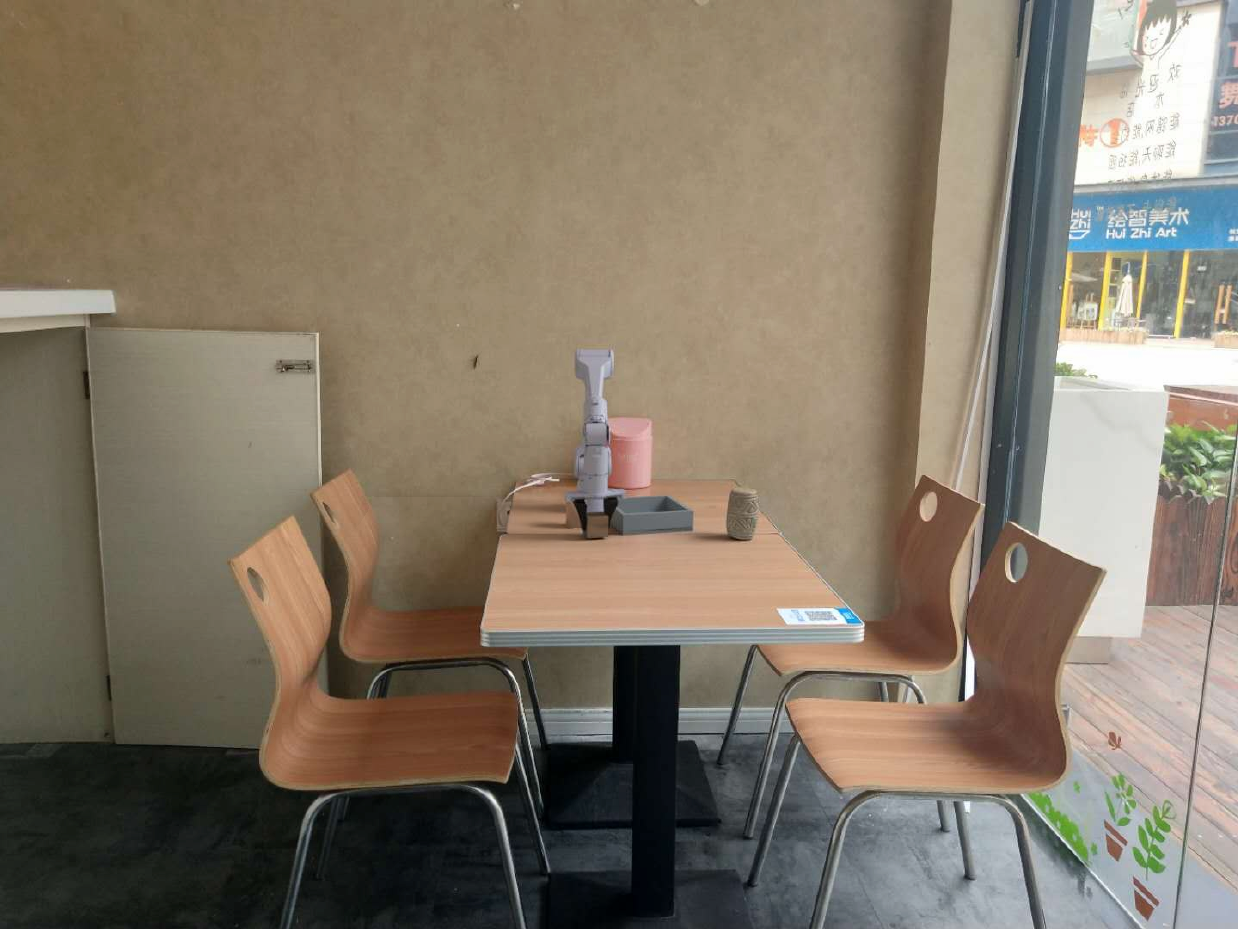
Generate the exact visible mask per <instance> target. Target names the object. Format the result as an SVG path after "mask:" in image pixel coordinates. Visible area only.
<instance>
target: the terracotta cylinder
mask: <svg viewBox="0 0 1238 929" xmlns="http://www.w3.org/2000/svg"><path fill="white" fill-rule="evenodd" d="M585 501H586V500H585ZM565 527H566V529H570V528H581V523H580V519H579V515H578V512H577V510H576V508H575V506H574V504H573V501H571V502H566V501H565Z"/></svg>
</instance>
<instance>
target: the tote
mask: <svg viewBox="0 0 1238 929" xmlns="http://www.w3.org/2000/svg"><path fill="white" fill-rule="evenodd" d="M617 500H618V506H617V507H616V509H615V511H614V513H613V516H612V519H611V522H610V526H612V527H613V528H614V529H615V528H616V530H617V532H619V534H621V535H622V536H632V535H633V534H636V535H647V534H661V533H676V532H677V533H678V532H689V531H691V532H692V531H694V510H692V509H691V508H690V507H688V506H686V505H685V504H683V503H682V502H680V501H678V499H676V498H674V497H672V496H671V495H669V494H662V495H661V494H660V495H659V494H658V495H646V496H645V495H643V496H628V497H627V496H626V498H625V499H621V498H617ZM603 512H604V502H603Z"/></svg>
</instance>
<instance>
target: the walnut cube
mask: <svg viewBox="0 0 1238 929" xmlns="http://www.w3.org/2000/svg"><path fill="white" fill-rule="evenodd" d="M586 525H587V526H586V531H583V530H582V529H581V530H582V534H583V535H584V536H585V537H586V538H587V539H598V538H599V539H600V538H608V537H609V529H608V516H607V515H606V514H605V513H604V512H603V511H601V512H587V513H586Z"/></svg>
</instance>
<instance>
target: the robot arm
mask: <svg viewBox="0 0 1238 929" xmlns="http://www.w3.org/2000/svg"><path fill="white" fill-rule="evenodd" d="M614 353H615V352H614V350H612V348H609V349H595V348H594V349H587V348H586V349H582V348H581V349H579V348H576V349H575V350H574V375H575V378H576V379H578V380H580V381H582V383H583V385H584V396H585V397H584V401H583V404H582V405H583V406H582V407H583V408H582V410H583V425H582V426H581V443H580V444H579V445H577V446H576V447H575V449H574V455H573V456H574V458H573V464H574V465H573V474H574V476H575V478H578V480H577V484H576V490H574V491H573V490H572V491H565V492H564V500H565V503H566V502H571V501H573V504H574V506H575V508H576V510H577V512H578V515H579V519H580V523H581V529H580V530H583V531H586V526H587V525H586V513H587V512H601V511H603V502H604V513H605V514H606V515H607V516H608V530H610V526H611V524H610V522H611V519H612V516H613V513H614V511H615V509H616V507H617V506H618V500H617V498H621V499H625V498H626V497H627V496H626V495H627V491H626V490H625V489H624V488H608V485H609V484H608V479H609V478H610V477H611V475H612V451H611V448H610V443H611V426H610V422H609V419H608V402H607V401H606V399H604V398H603V389H604V382H605V381H607V380H610V379H611V378H612V376H613V373H614V368H615V365H614V363H615V361H614V360H615V359H614V358H615V356H614ZM585 500H586V501H585Z"/></svg>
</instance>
